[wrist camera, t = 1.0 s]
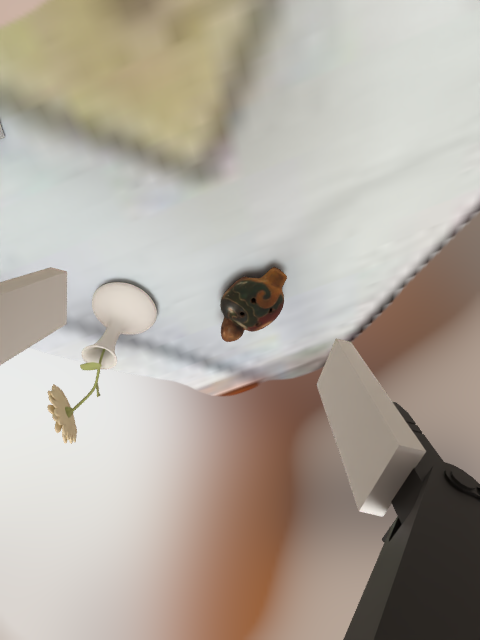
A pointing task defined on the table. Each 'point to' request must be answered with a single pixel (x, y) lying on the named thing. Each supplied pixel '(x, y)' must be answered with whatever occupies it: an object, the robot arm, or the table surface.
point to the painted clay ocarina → (252, 304)
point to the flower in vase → (105, 342)
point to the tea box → (1, 133)
